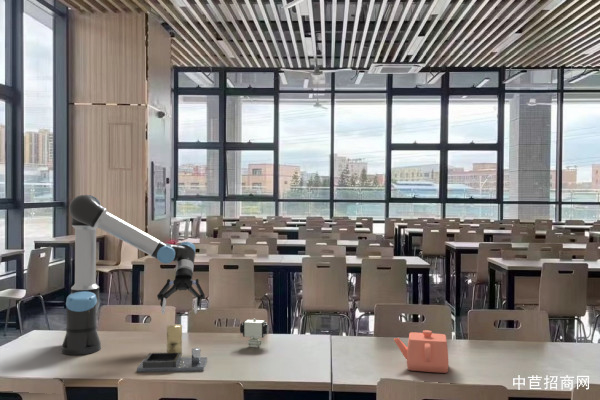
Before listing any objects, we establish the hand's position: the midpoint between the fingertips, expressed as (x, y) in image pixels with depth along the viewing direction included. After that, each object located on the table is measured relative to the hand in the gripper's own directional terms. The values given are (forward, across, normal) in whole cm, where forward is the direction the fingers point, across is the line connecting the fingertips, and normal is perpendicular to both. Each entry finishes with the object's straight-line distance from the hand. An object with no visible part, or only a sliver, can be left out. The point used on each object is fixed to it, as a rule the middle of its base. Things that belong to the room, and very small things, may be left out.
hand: (179, 312), depth 227 cm
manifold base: (+28, -2, +7) cm, 29 cm away
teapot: (+33, -95, +11) cm, 101 cm away
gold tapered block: (+18, 0, -3) cm, 19 cm away
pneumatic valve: (+10, -32, -12) cm, 35 cm away
